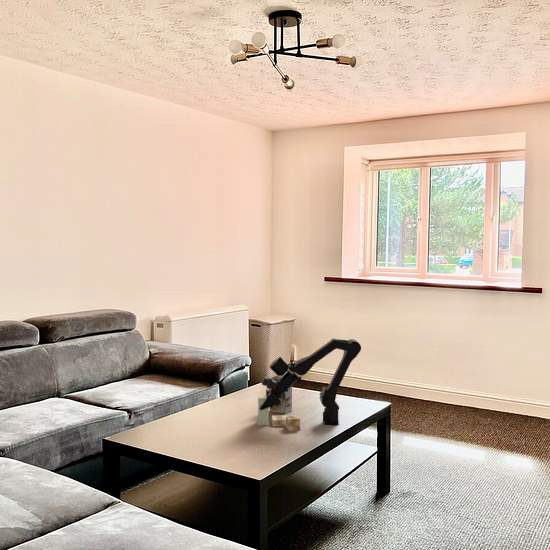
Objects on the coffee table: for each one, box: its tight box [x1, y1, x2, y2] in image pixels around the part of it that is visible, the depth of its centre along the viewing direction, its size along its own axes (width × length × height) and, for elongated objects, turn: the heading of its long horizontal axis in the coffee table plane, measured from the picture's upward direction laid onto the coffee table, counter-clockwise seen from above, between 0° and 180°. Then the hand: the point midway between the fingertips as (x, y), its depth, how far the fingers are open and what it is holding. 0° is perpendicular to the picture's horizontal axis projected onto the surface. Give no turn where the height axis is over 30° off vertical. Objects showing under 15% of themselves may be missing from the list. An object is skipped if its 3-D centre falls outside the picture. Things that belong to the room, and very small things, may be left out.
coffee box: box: [269, 375, 293, 415], centre depth 283 cm, size 9×6×16 cm
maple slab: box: [271, 414, 289, 427], centre depth 264 cm, size 7×7×3 cm
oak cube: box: [285, 415, 301, 431], centre depth 257 cm, size 5×5×5 cm
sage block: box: [257, 395, 270, 426], centre depth 263 cm, size 4×4×12 cm
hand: (260, 407), depth 263 cm, fingers closed on sage block, 4 cm apart
